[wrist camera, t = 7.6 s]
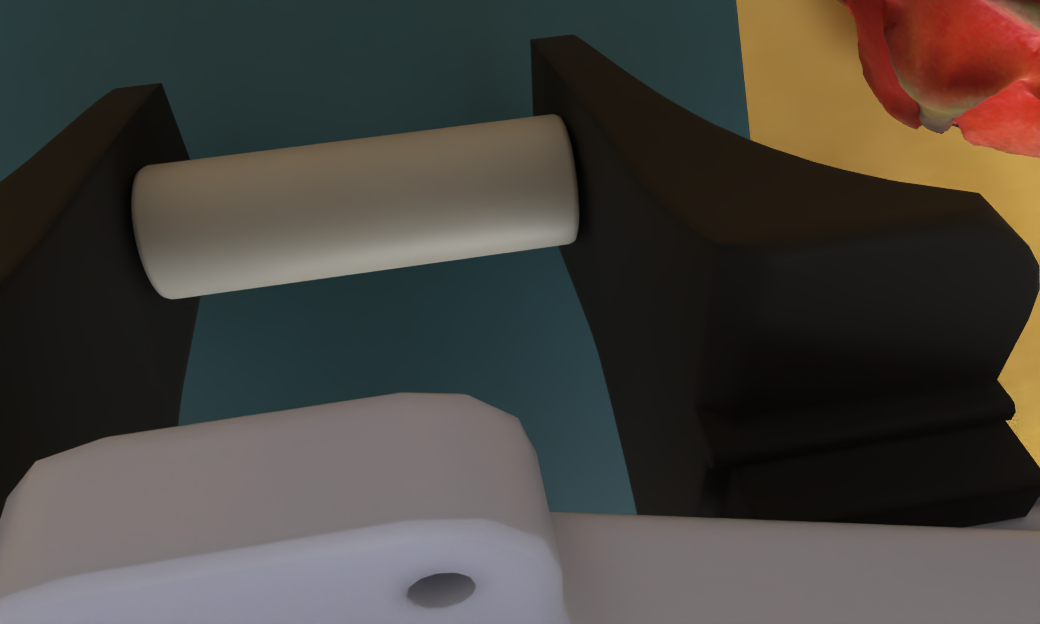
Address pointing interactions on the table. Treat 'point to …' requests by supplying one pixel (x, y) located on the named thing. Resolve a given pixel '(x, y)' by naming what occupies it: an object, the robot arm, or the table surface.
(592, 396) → the cool box lid
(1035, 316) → the table surface
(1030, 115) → the dragon fruit
